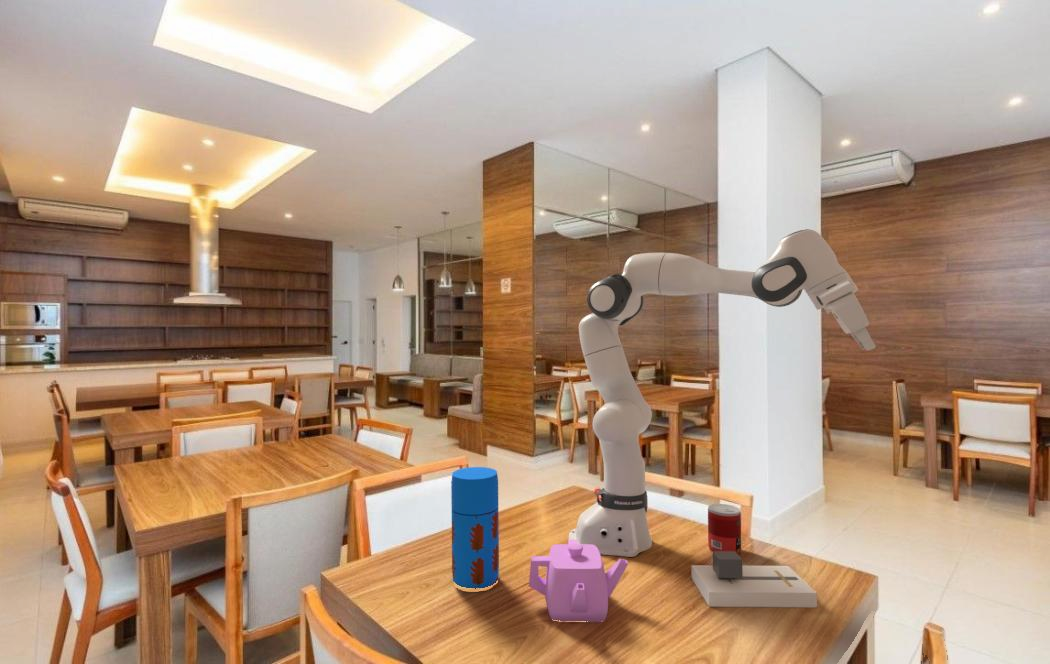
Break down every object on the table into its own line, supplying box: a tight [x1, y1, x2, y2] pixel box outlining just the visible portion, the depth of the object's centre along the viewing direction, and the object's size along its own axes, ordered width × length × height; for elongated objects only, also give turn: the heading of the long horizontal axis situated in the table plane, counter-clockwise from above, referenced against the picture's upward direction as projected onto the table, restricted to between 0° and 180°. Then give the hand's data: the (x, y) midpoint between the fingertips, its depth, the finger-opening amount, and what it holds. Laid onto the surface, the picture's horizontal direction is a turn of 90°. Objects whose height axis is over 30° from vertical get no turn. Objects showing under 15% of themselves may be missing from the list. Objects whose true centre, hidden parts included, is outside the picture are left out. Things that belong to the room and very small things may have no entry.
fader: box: [711, 551, 743, 578], centre depth 109 cm, size 5×4×5 cm
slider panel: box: [691, 564, 818, 608], centre depth 109 cm, size 22×12×3 cm, turn 88°
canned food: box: [707, 503, 742, 556], centre depth 130 cm, size 8×8×11 cm
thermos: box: [450, 466, 500, 589], centre depth 115 cm, size 11×11×25 cm
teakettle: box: [528, 538, 629, 623], centre depth 104 cm, size 17×17×12 cm
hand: (869, 349), depth 107 cm, fingers open, 8 cm apart
